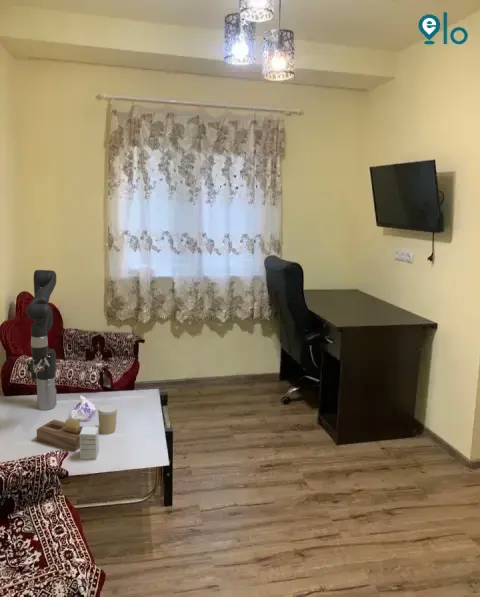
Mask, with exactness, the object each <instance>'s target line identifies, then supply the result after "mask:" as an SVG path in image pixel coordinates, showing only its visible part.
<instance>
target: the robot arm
mask: <svg viewBox="0 0 480 597" xmlns="http://www.w3.org/2000/svg"><path fill="white" fill-rule="evenodd" d="M56 285H57V273H56V271H55V270H51V269H50V270H49V269H48V270H45V269H35V270H34V272H33V292H34V293H33V294H34V296H33V299H32V300H31V302H30V303H29V304H28V305H27V307H26V312H25V313H26V315H27V317H28V318H29V319H31V320H33V323H32V324H31V327H30V334H31V335H30V337H31V339H30V352H31V355H32V358H31V359H27V362H26V363H27V368H26V370H27V372H29V373H30V378H31V380H36V400H37V401H36V402H37V409H38V410H40V411H48V410H52V408H53V409H55V407H56V406H57V403H58V402H57V388H56V375H55V374H56V368H57V366H56V363H57V353H56V350H55V349H54V348H49V344H48V343H49V342H48V341H49V340H48V332H49V331H50V330H51V328H53V325H54V324H53V323H54V322H53V320H54V318H53V316H54V313H53V310H52V308H51V306H50V304H49V302H50V298H51V295H52V294H53V291H54V289H55V287H56ZM40 366H43V369H41V370H38V369H39V367H40ZM37 370H38V371H37Z"/></svg>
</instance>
